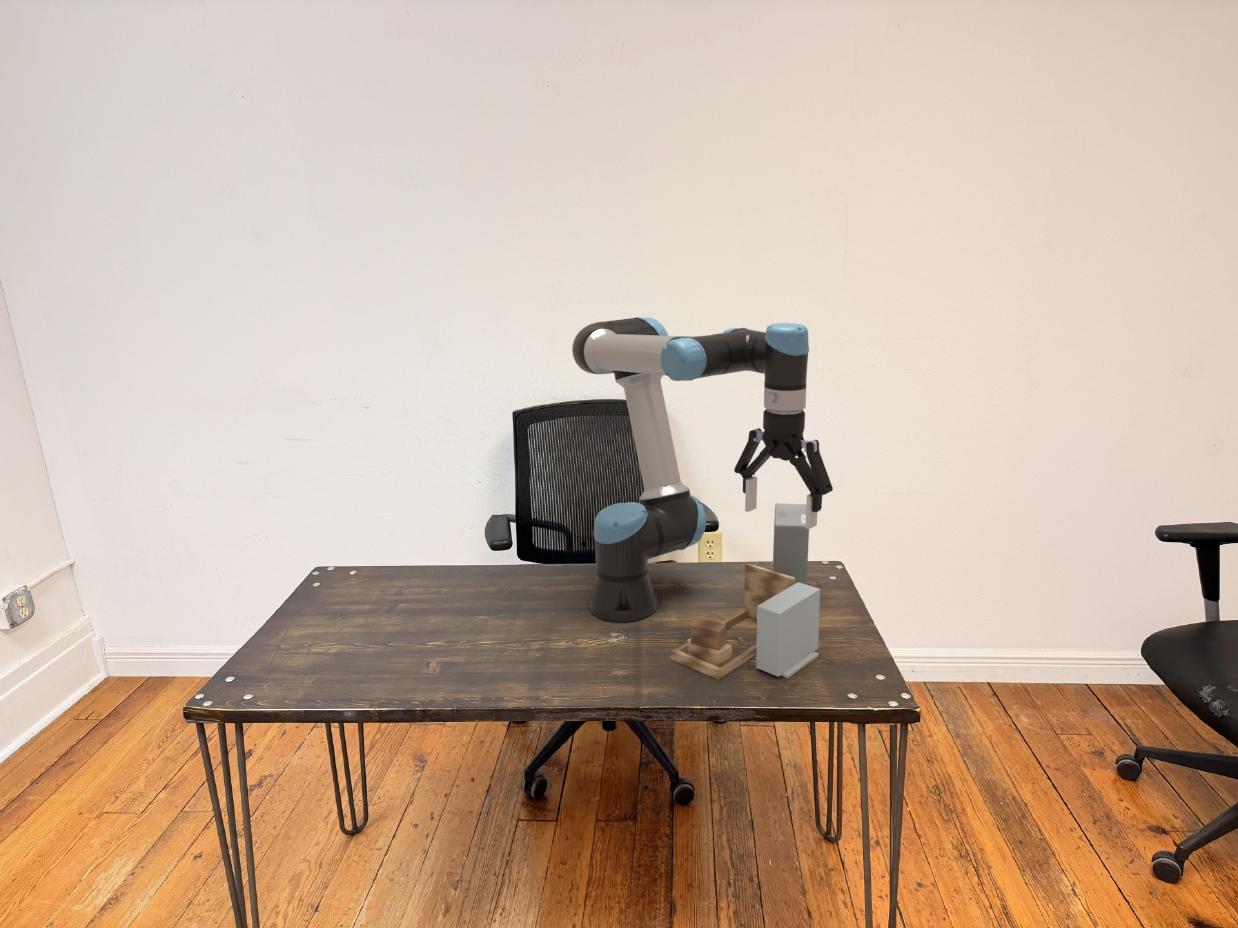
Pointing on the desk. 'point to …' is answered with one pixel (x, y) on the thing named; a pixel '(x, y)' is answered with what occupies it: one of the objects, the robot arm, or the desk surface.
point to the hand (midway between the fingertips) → (780, 518)
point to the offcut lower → (711, 654)
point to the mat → (800, 665)
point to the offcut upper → (708, 634)
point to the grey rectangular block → (787, 628)
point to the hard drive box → (791, 541)
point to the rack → (740, 618)
